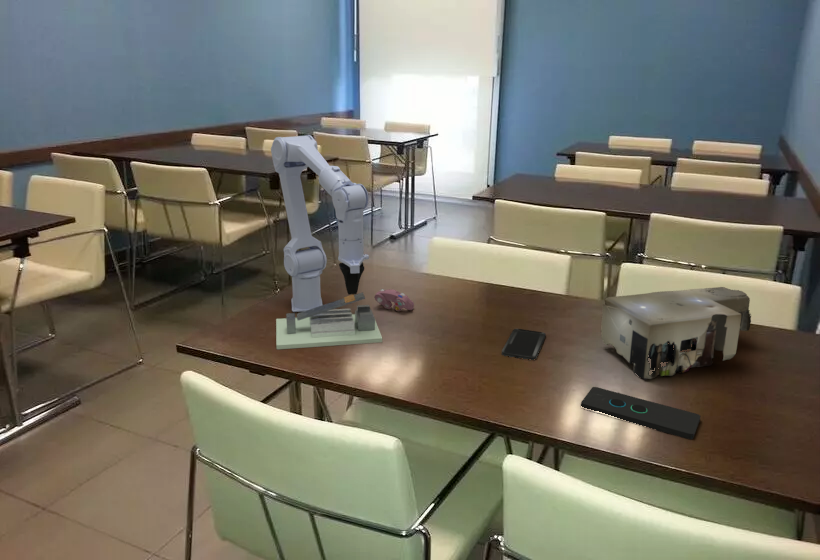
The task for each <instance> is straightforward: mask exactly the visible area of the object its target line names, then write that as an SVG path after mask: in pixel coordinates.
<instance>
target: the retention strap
mask: <svg viewBox="0 0 820 560" xmlns="http://www.w3.org/2000/svg"><path fill="white" fill-rule="evenodd" d="M362 300H366V297H365V294H364V292H359V293H357V294H350V295H347V296H344V297H343V298H340V299H337V300H335V301H332V302H328V303H325V304H323V305H322V306H319V307H316V308H313V309H310V310H307V311H302V312H298V313H297V312H296V318H297V320H301V319H305V318H308V317H311V316H314V315H317V314H320V313H323V312H326V311H329V310H333V309H339V308H340V307H345V306H347V305H350V304H352V303H357V302H359V301H362Z"/></svg>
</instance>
